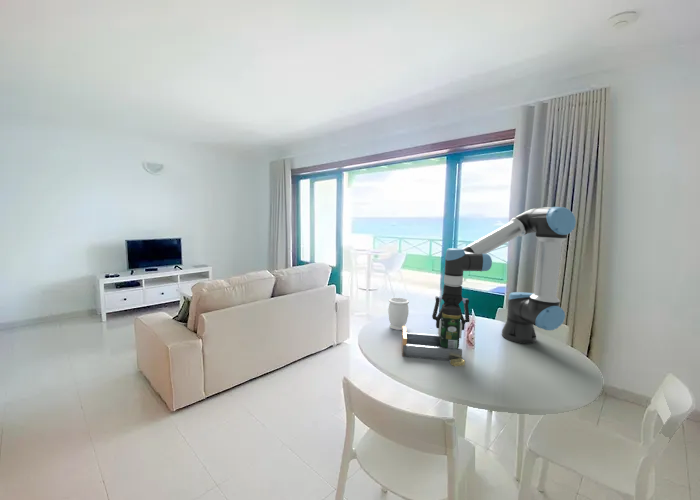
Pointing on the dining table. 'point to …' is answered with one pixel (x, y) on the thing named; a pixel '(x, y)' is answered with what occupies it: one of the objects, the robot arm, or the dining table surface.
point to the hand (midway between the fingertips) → (449, 336)
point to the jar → (398, 313)
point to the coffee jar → (450, 326)
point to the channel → (427, 347)
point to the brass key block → (457, 362)
